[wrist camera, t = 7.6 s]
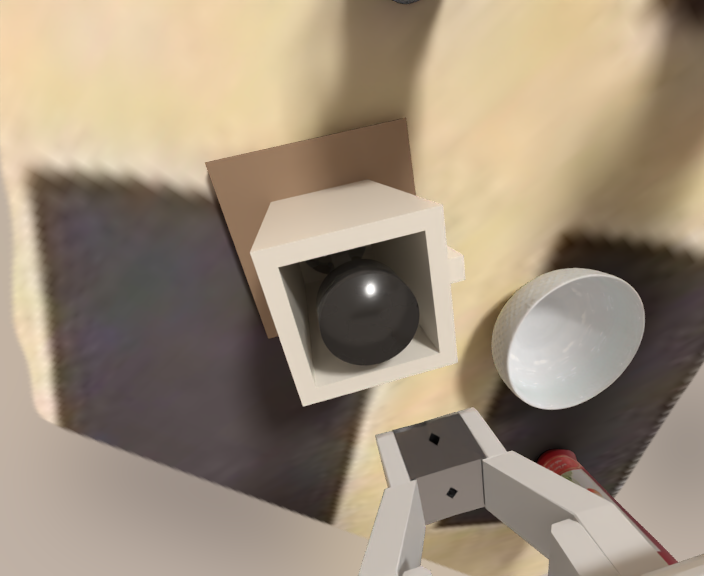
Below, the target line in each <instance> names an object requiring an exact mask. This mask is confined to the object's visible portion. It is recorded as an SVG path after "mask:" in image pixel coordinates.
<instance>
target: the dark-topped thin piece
mask: <svg viewBox="0 0 704 576" xmlns="http://www.w3.org/2000/svg"><path fill="white" fill-rule="evenodd" d="M365 248H366V245H365V246H361V247H357V248H353V249H349V250H345V251H341V252H337V253H333V254H329V255H325V256H321V257H317V258H313V259H309V260H306V261H305V262H306V263H307V264H308V265H309V266H310V267H311V268H312V269H314V270H316V271H318V272H320V273H323V274H328V275H327V276H326V277H325V279H324V280H323V282H322V283H321V285H320V287H319V290H318V293H317V298H316V308H317V314H318V321H319V327H320V332H321V337H322V339H323V342H324V343H325V345H326V347H327V348H328V349H329V351H330V352H331V353H332V354H333V355H335V356H336V357H337V358H339V359H341V360H342V361H345V362H347V363H350V364H354V365H374V364H379V363H382V362H385V361H387V360H389V359H391V358H393V357H395V356H396V355H398V354H399V353H400V352H402V351H403V350H404V349H405V348H406V347H407V345H408V344H409V343H410V342H411V340H412V339H413V337H414V335H415V333H416V330H417V328H418V324H419V307H418V303H417V300H416V298H415V296H414V294H413V293H412V291H411V290H410V289H409V288H408V286H407V285H406V284H405V283H404V282H403V281H402V280H401V278H400V277H399V276H398V275H397V274H396V273H395V272H394V271H393V270H392V269H391V268H390V267H389V266H387V265H386V264H384V263H382V262H379V261H376V260H372V259H361V258H362V256H363V254H364V252H365Z"/></svg>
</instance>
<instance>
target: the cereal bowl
mask: <svg viewBox="0 0 704 576" xmlns="http://www.w3.org/2000/svg"><path fill="white" fill-rule="evenodd" d="M644 327H645V312H644V307H643V303H642V301H641V298H640V296H639V295H638V293H637V292H636V291H635V289H634V288H633V287H632V286H631V285H630V284H628V283H627V282H626V281H624V280H622V279H620V278H618V277H616V276H614V275H610V274H607V273H603V272H600V271H596V270H592V269H584V268H566V269H559V270H554V271H551V272H547V273H545V274H543V275H540V276H538V277H536V278H535V279H533V280H531V281H530V282H528V283H527V284H525V285H524V286H522V287H521V288H520V289H519V290H518V291H516V293H514V294H513V296H512V297H511V298H510V299H509V300H508V302H507V303H506V304H505V306H504V307H503V308H502V310H501V312H500V313H499V315H498V318H497V320H496V323H495V326H494V329H493V333H492V345H491V347H492V350H491V351H492V357H493V362H494V364H495V367H496V369H497V371H498V374H499V375H500V377H501V378H502V379H503V381H504V383H505V384H506V385H507V386H508V388H509V389H511V391H512V392H513V393H514V394H515V395H516V396H517V397H518V398H520V399H521V400H522V401H524V402H525V403H527V404H529V405H531V406H533V407H536V408H540V409H547V410H556V409H564V408H568V407H572V406H575V405H578V404H580V403H583V402H585V401H587V400H589V399H591V398H593V397H594V396H596V395H597V394H599V393H600V392H602V391H603V390H604V389H606V388H607V387H609V386H610V385H611V384H612V383H613V382H614V381H615V380H616V379H617V378H618V377H619V376H620V375H621V374H622V373H623V372H624V370H625V369H626V368H627V366H628V365H629V364H630V362H631V361H632V359H633V357H634V356H635V354H636V352H637V350H638V348H639V345H640V343H641V340H642V337H643V333H644Z"/></svg>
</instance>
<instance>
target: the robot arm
mask: <svg viewBox="0 0 704 576" xmlns="http://www.w3.org/2000/svg"><path fill="white" fill-rule="evenodd" d="M375 437H376V441H377V446H378V450H379V454H380V458H381V462H382V466H383V470H384V475H385V479H386V482H387V486H388V488H386V489H385V490H384V493H383V496H382V500H381V503H380V506H379V509H378V513H377V516H376V519H375V522H374V526H373V529H372V532H371V536H370V539H369V542H368V546H367V549H366V552H365V555H364V558H363V562H362V565H361V568H360V572H359V575H358V576H432V573H431V570H429V569H427V568H425V567H423V566H420V565H421V558H422V551H423V543H424V536H425V529H426V527H425V525H427V524H430V523H433V522H436V521H439V520H442V519H445V518H448V517H451V516H453V515H457V514H460V513H464V512H468V511H471V510H475V509H478V508H482V507H485V508H486V509H487V510H488V511H489V512H490V513H492V514H493V515H494V516H495V517H497V518H498V519H499V520H500V521H502V522H503V523H504V524H505V525H507V526H508V527H509V528H510V529H512V530H513V531H514V532H515V533H517V534H518V535H519V536H520V537H522V538H523V539H524V540H525V541H527V542H528V543H529V544H530V545H531V546H533V547H534V548H535V549H536V550H538V551H539V552H540V553H541V554H543V555H544V556H545V557H546V558H548V559H549V570H548V576H704V554H702V555H699V556H696V557H693V558H690V559H687V560H684V561H681V562H678V563H675V564H672V565H668V564H667V562H666V561H665V560H664V559H663V558H662V557H661V556H660V555H659V554H658V553H657V551H656V550H655V549H654V548H653V547H652V546H651V545H650V544H649V543H648V542H647V540H646V539H645V538H644V537H643V536H642V535H641V534H640V533H639V532H638V531H637V529H636V528H635V527H634V526H633V525H632V524H631V523H630V522H629V521H628V520H627V518H626V517H625V516H624V515H623V514H622V513H621V512H620V511H619V510H618V508H617V507H616V506H615V505H614V504H613V503H611V502H609V501H607V500H606V499H604V498H602V497H600V496H598V495H596V494H594V493H592V492H590V491H588V490H586V489H585V488H583V487H581V486H579V485H577V484H575V483H573V482H571V481H569V480H567V479H565V478H564V477H562V476H560V475H558V474H556V473H554V472H552V471H550V470H548V469H546V468H545V467H543V466H541V465H539V464H537V463H535V462H533V461H531V460H529V459H527V458H525V457H524V456H522V455H520V454H518V453H516V452H514V451H509V452H507V451H506V450H505V448H504V447H503V446H502V444H501V443H500V441H499V440H498V439H497V437H496V436H495V434H494V433H493V432H492V430H491V429H490V427H489V426H488V425H487V423H486V422H485V421H484V419H483V418H482V416H481V415H480V414H479V412H478V411H477V409H475V408H474V407H472V408H468V409H465V410H461V411H458V412H454V413H451V414H447V415H444V416H441V417H437V418H434V419H431V420H428V421H424V422H422V423H419V424H415V425H411V426H407V427H403V428H399V429H395V430H392V431H389V432H385V433H381V434H378V435H375Z"/></svg>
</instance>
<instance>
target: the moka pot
mask: <svg viewBox="0 0 704 576" xmlns="http://www.w3.org/2000/svg"><path fill="white" fill-rule="evenodd" d="M393 1H396V2H397V3H402V4H409V3H413V2H416V1H419V0H393Z"/></svg>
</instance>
